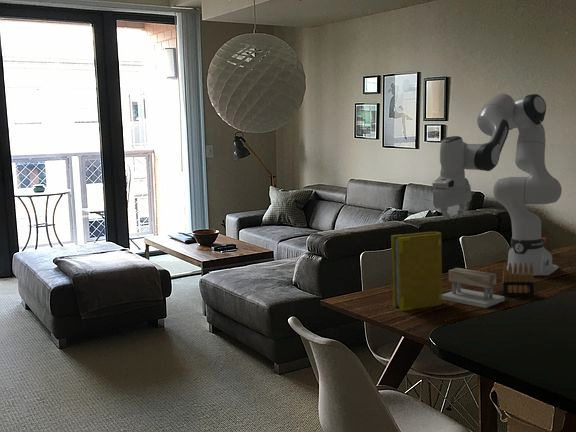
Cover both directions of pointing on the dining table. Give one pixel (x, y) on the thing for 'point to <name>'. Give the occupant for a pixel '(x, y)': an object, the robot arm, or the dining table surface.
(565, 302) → the dining table surface
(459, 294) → the peg stand
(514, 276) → the ammunition clip
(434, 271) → the book
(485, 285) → the tan bar
